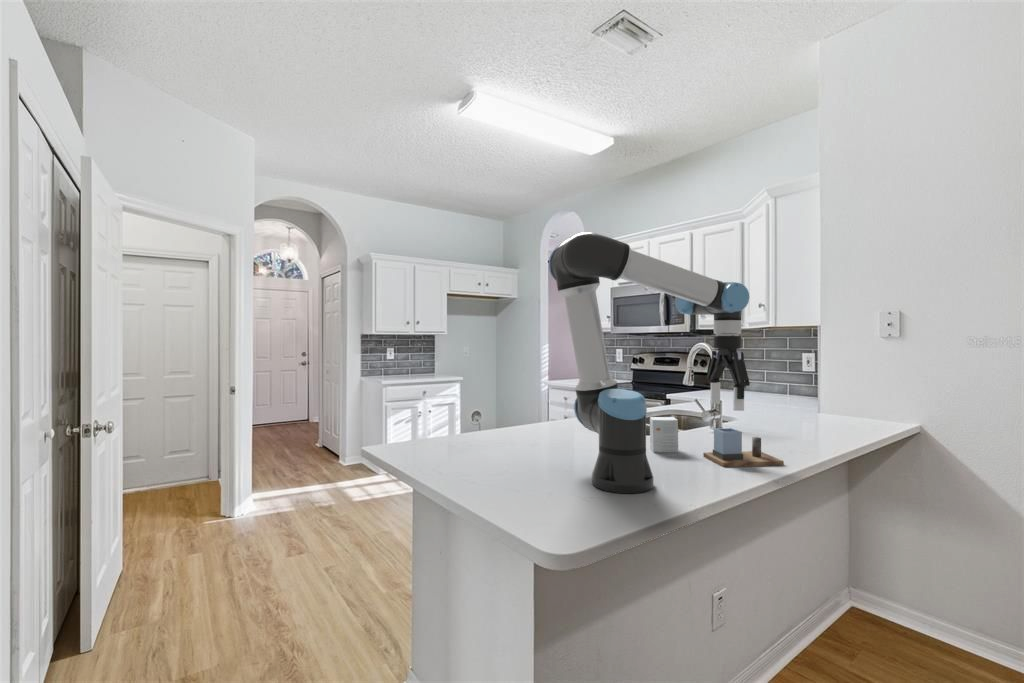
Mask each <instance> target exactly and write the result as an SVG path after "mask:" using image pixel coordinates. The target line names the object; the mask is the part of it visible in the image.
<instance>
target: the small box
mask: <svg viewBox="0 0 1024 683" xmlns="http://www.w3.org/2000/svg"><path fill="white" fill-rule="evenodd" d="M649 448H650V449H651V450H652V452H653V453H679V420H678V419H677V418H676V417H674V416H651V417H649Z"/></svg>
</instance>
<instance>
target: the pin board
mask: <svg viewBox="0 0 1024 683" xmlns="http://www.w3.org/2000/svg"><path fill="white" fill-rule="evenodd" d="M702 454H703V455H702V456H703V457H704V458H705V459H708V461H711V462H713V463H715V464H716V465H718V466H720V467H722V468H732V467H734V468H736V467H737V468H738V467H764V466H767V467H770V466H771V467H772V466H784V465H785V462H784V460H783V459H780V458H777V457H775V456H773V455H770V454H768V453H765V452H763V451H762V437H759V436H752V437H751V451H749V450H748V451H742V454H743V459H742V460H722V459H720V458H718V457H716V456H714V455H713V451H712V452H703V453H702Z"/></svg>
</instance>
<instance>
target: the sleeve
mask: <svg viewBox="0 0 1024 683" xmlns="http://www.w3.org/2000/svg"><path fill="white" fill-rule="evenodd" d="M742 435H743V432H742V431H741V430H738V429H734V428H733V427H727V428H726V427H724V428H723V427H722V428H713V449H712V452H713V455H714V456H716V457H718V458H720V459H722V460H742V459H743V454H742V452H743V445H742V444H743V440H742V438H743V436H742Z"/></svg>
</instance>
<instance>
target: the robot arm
mask: <svg viewBox="0 0 1024 683" xmlns="http://www.w3.org/2000/svg"><path fill="white" fill-rule="evenodd" d="M548 269H549V273H550V275H551V277H552V278H553V279H554V280H555V281H556V287H557V292H558V293H559V294H561V296H563V297H564V299H565V301H564V302H565V305H566V310H567V311H566V312H567V317H568V324H569V330H570V334H571V340H572V346H573V351H574V352H573V353H574V356H575V364H576V368H577V374H578V381H579V382H578V383H577V384H576V386H575V388H574V389H575V394H576V398H575V400H574V405H573V410H574V411H573V412H574V414H575V417H576V419H577V420H578V422H579V423H580V424H581V425H582V426H583V427H584V428H586V429H587V430H589V431H591V432H594V433H596V434H598V455H597V458H596V461H595V464H594V468H593V471H592V473H591V474H592V475H591V483H592V485H593V486H594V487H595V488H597V489H599V490H601V491H606V492H610V493H617V494H640V493H644V492H648V491H650V490H652V489H653V488H654V484H655V482H654V475H653V472H652V470H651V467H650V463H649V460H648V457H647V412H648V411H647V404H646V398H645V396H644V395H643V394H642V393H640V392H637V391H635V390H628V389H625V388H624V389H623V388H619V386H618V381H617V380H616V379H614V378H613V377H612V376H611V373H610V372H611V371H610V366H609V362H608V356H607V349H606V346H605V344H606V343H605V338H604V332H603V327H602V320H601V314H600V310H599V302H598V298H597V292H596V291H597V289H598V288H599V286H600V285H601V283H600V282H601V281H600V278H603V279H609V280H611V281H618V280H620V279H621V280H624V281H628V282H629V283H634V284H636V285H639V286H642V287H646V288H649V289H651V290H654V291H657V292H660V293H663V294H666V295H668V296H669V295H670V296H672V297H675V307H676V310H677V311H678V313H680V314H682V315H688V316H690V315H700V316H701V315H704V316H705V315H706V316H707V315H711V316H713V335H714V336H713V348H714V349H718V350H712V352H711V358H710V359H711V360H710V364H709V368H708V372H707V375H706V380H708V381H709V383H710V404H711V405H721V378H722V376H723V373H724V371H725V368H726V369H728V371H729V373H730V376H731V378H732V381H733V383H734V384H733V401H732V402H733V411H737V412H738V411H740V412H741V411H743V412H744V411H745V389H746V388H747V387H750V385H751V383H750V379H749V375H748V371H747V367H746V364H745V354H744V352H743V351H742V352H741V351H738V349H741V348H742V337H741V336H740V335H741V334H742V327H743V324H742V320H743V319H742V318H743V317H742V314H743V313H742V310H745V308H747V307H748V304H749V302H750V293H749V289H748V288H747V286H745V285H744V284H743V283H742V282H741V283H740V282H733V281H732V282H731V281H730V282H729V281H725V282H723V281H722V280H717V279H715V278H711V277H708V276H706V275H703V274H700V273H697V272H695V271H692V270H689V269H686V268H683V267H680V266H677V265H675V264H672V263H669V262H668V261H667V262H666V261H664V260H661V259H658V258H655V257H652V256H650V255H647V254H644V253H641V252H638V251H636V250H633V249H631V246H630V244H629V243H625V242H623V241H620V240H617V239H615V238H611V237H608V236H606V235H603V234H598V233H595V232H588V231H587V232H580V233H577V234H575V235H573V236H571V238H568V239H566V240H564V241H562V242H560V243H559V244H558V245H557V246H555V248H554V249H553V250H552V252H551V254H550V256H549V259H548Z"/></svg>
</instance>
